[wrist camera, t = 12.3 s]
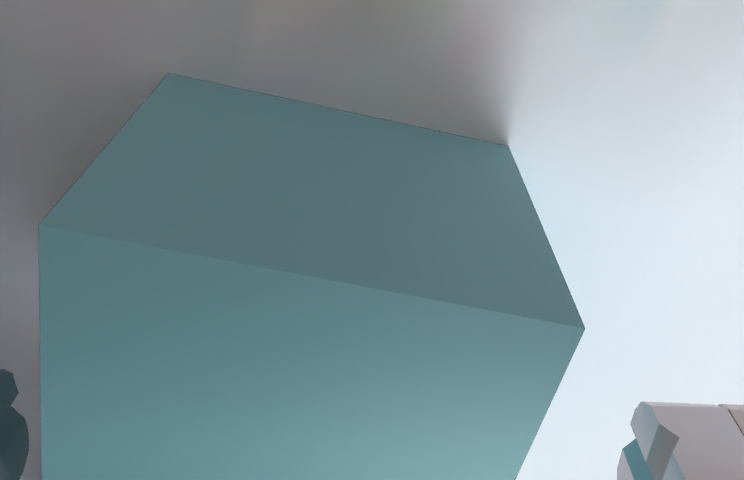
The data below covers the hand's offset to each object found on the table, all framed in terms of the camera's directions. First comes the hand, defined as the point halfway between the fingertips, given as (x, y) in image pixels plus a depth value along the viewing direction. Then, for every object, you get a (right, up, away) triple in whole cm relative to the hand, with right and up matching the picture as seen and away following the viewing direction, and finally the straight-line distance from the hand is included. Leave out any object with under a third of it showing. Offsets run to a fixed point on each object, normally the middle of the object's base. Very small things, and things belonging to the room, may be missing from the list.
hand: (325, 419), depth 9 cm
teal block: (0, +2, +3) cm, 4 cm away
